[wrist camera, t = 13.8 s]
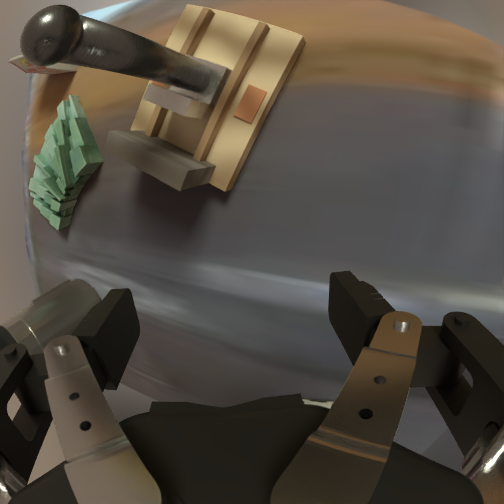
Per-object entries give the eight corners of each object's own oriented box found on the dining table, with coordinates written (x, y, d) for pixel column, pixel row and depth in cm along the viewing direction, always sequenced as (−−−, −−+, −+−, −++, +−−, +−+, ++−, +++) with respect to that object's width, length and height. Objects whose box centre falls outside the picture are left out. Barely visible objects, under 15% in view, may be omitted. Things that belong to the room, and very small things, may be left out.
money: (86, 238, 42) (64, 248, 38) (34, 193, 43) (14, 199, 39) (122, 113, 34) (96, 112, 29) (59, 86, 35) (36, 85, 31)
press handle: (194, 58, 26) (23, -2, 7) (234, 71, 26) (65, -8, 7) (173, 104, 29) (-10, 90, 10) (211, 120, 28) (22, 107, 9)
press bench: (195, 9, 26) (159, -16, 19) (305, 42, 25) (292, 11, 18) (136, 140, 34) (91, 142, 26) (231, 189, 32) (198, 202, 25)
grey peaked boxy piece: (57, 53, 33) (10, 49, 24) (82, 48, 32) (31, 40, 22) (53, 74, 34) (5, 72, 25) (76, 71, 33) (24, 66, 24)
